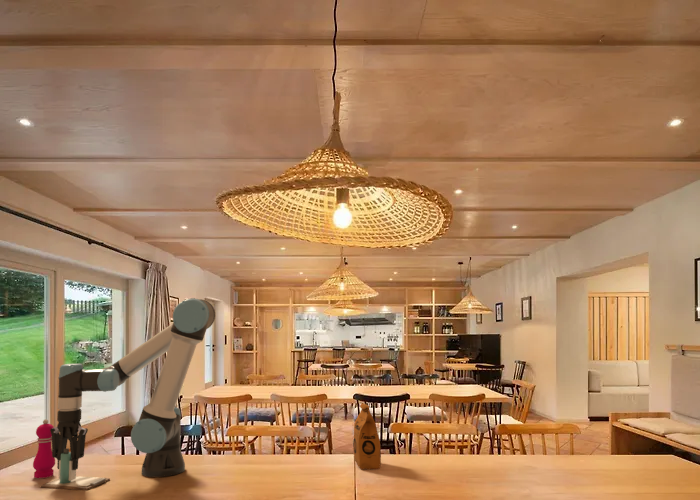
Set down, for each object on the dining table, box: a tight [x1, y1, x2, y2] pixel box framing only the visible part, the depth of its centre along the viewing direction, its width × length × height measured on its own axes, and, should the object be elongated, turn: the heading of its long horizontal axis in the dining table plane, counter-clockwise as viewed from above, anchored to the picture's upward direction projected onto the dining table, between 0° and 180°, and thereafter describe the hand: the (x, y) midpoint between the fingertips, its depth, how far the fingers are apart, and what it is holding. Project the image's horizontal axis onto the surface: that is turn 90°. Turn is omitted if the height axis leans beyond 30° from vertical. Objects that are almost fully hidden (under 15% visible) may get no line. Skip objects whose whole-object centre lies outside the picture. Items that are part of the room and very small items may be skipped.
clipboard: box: [40, 475, 111, 491], centre depth 203 cm, size 18×12×1 cm, turn 77°
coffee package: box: [352, 402, 382, 470], centre depth 220 cm, size 10×12×22 cm
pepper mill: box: [32, 419, 56, 479], centre depth 216 cm, size 7×7×20 cm
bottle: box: [60, 447, 71, 484], centre depth 202 cm, size 3×3×11 cm
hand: (67, 479), depth 203 cm, fingers closed on bottle, 3 cm apart
